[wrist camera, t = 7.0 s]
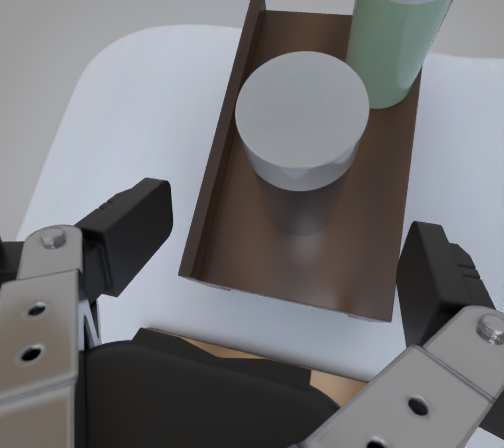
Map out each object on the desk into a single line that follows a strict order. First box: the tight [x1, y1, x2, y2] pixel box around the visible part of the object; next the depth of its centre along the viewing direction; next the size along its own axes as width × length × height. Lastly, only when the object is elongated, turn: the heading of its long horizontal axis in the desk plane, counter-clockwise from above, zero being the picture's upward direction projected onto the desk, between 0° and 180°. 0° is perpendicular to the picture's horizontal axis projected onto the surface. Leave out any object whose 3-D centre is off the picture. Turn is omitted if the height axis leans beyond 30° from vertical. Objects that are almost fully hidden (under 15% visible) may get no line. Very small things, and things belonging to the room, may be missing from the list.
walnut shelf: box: [178, 0, 423, 323], centre depth 24 cm, size 12×20×8 cm, turn 168°
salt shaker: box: [345, 0, 453, 109], centre depth 18 cm, size 4×4×10 cm
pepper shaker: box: [235, 51, 369, 236], centre depth 17 cm, size 4×4×10 cm
